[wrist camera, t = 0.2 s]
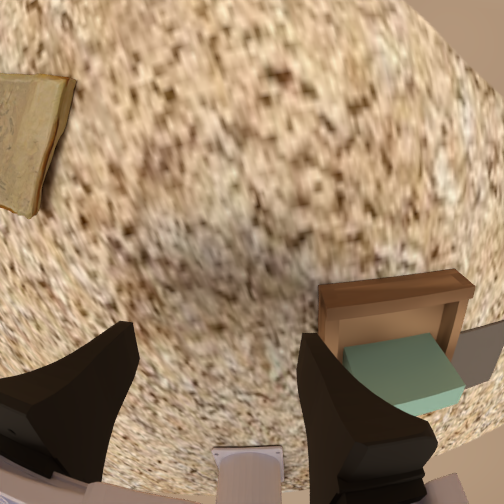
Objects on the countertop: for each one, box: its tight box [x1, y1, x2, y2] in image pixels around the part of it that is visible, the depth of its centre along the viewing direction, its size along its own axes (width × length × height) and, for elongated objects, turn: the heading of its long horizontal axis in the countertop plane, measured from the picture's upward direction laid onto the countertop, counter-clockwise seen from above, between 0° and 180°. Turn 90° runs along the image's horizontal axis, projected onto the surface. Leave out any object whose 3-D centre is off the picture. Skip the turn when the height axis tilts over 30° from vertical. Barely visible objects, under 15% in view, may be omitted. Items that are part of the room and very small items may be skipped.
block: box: [342, 333, 466, 416], centre depth 21 cm, size 2×8×7 cm, turn 96°
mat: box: [451, 320, 504, 389], centre depth 26 cm, size 9×10×1 cm
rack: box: [318, 269, 475, 415], centre depth 23 cm, size 15×12×3 cm
